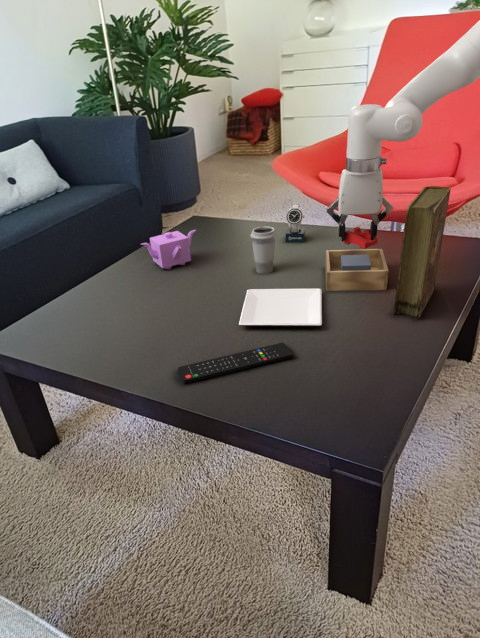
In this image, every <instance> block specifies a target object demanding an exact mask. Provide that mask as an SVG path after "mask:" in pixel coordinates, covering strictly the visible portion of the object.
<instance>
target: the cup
mask: <svg viewBox="0 0 480 638" xmlns="http://www.w3.org/2000/svg"><path fill="white" fill-rule="evenodd" d="M249 234H250V235H249V237H250V238H252V240H251V243H252V252H253V260H254V262H255V263H254V264H255V271H256V273H258V274H260V275H261V274H262V275H266V274H271V273H272V272H273V271H274V260H275V249H276V239H275V237H277V231H276V230H275V228H274V227H272V226H268V225H262V226H261V225H260V226H257V227H254V228H253V229H252V230H251V233H249Z"/></svg>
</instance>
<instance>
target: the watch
mask: <svg viewBox="0 0 480 638" xmlns="http://www.w3.org/2000/svg"><path fill="white" fill-rule="evenodd" d="M285 219H286V221H287V224H288V227H289V228H286V231H285V243H286V244H287V243H289V244H290V243H293V244H294V243H295V244H296V243H298V244H299V243H300V244H301V243H304V242H305V238H306V229H305V228H300V226H301V224H302V221H303V219H305V215H303V212H302V209H301V207H300V204H291V206H290V207H289V209H288V211H287V213H286V215H285Z"/></svg>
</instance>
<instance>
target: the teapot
mask: <svg viewBox="0 0 480 638" xmlns="http://www.w3.org/2000/svg"><path fill="white" fill-rule="evenodd" d="M196 231H197V229H192V230H190V231H189V232H188V233H187V235H185V234H183V233H182V232H181V231H179V230H174V231H167V232H165V233H163V234H158V235H155V236H151V237H149V243H148V242H142V243H140V245H141V246H143V247H145V248H146V249H147V251H148V253H149V255H150V256H151V257H152V261H153V262H154V263H156V265H158V266H159V267H160V268H161V269H165V270H170V269H172V267H173V266H177V265H179V266H185V265H186V263H188V262H191V261H192V256H191V245H192V238H193V234H194V233H195V232H196Z"/></svg>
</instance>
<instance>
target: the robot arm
mask: <svg viewBox="0 0 480 638" xmlns="http://www.w3.org/2000/svg"><path fill="white" fill-rule="evenodd" d="M479 78H480V19H479V20H478V21H477V22H476V23H474V25H472V27H470V28H469V29H468V31H467V32H465V33H464V34H463V35H462V36H461V37H460V38H459V39H458V40H457V41H456V42H455V43H454V44H452V45H451V46H450V47H449V48H448V49H447V50H446V51H444V52H443V53H442V54H440V56H438V57H437V58H436V59H435V60H433V62H431V63H430V64H429V65H428V66H426V67H425V68H424V69H423V70H421V71H420V72H419V73H418V74H416V75H415V76H414V77H413V78H412V79H410V81H408V83H407V84H406V85H405V86H403V87H402V88H401V89H400V90H399V91H398V92H397V93H396V94H395V95H393V97H392V98H391V99H390V100H389V101H388V102H387V103H386V105H385V106H384V107H383V106H382V105H380V104H374V103H371V104H370V103H369V104H359V105H356V106H353V107H352V108H351V109H350V110H349V113H348V122H347V138H346V139H347V140H346V157H345V169H343V170H342V171H341V174H340V180H339V186H338V195H337V198H336V199H335V200H334V201H333V202H332V203H331V204H330V205H329V206H328V207H327V208H326V213H327V214H328V215H329V216H330V217H331V218H332V220H334V221H335V223H337V225H338V238H340V241H341V242H343V243H344V241H345V232H346V220H347V218H348V217H349V216H360V215H361V216H362V215H370V216H371V218H372V220H371V221H370V226H369V230H371V240H373V239H374V236H376V237H377V236H378V227H379V224H380V222H382V221H383V220H384V219H385V218H386V217H387V216H388V215H389V214H390V213H391V212H392V211H393V210H394V206H393V204H391V202H390V201H389V200H388V199H386V198H385V197H384V196H383V195H384V192H383V191H384V175H383V168H381V166H384V165H387V159H388V158H387V157H383V156H381V152H382V143H383V141H384V142H385V141H387V142H396V143H397V142H398V143H401V142H407V141H410V140H412V139H414V138H415V137H416V136H417V135H418V134H419V133H420V131H421V129H422V127H423V124H424V123H423V121H424V120H423V118H424V117H423V114H424V113H425V112H426V111H427V110H428V109H430V107H432V106H433V105H435V103H438V102H439V100H441V99H442V98H445V97H446V96H448V95H449V94H451V93H453V92H456V91H459V90H461V89H464V88H466V87H468V86H470V85H472V84H473V83H475V82H476V81H477V80H478V79H479ZM382 207H384V209H383V210H382ZM336 209H338V213H339V214H340V215H339V214H338V213H337V212H335V210H336Z"/></svg>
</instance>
